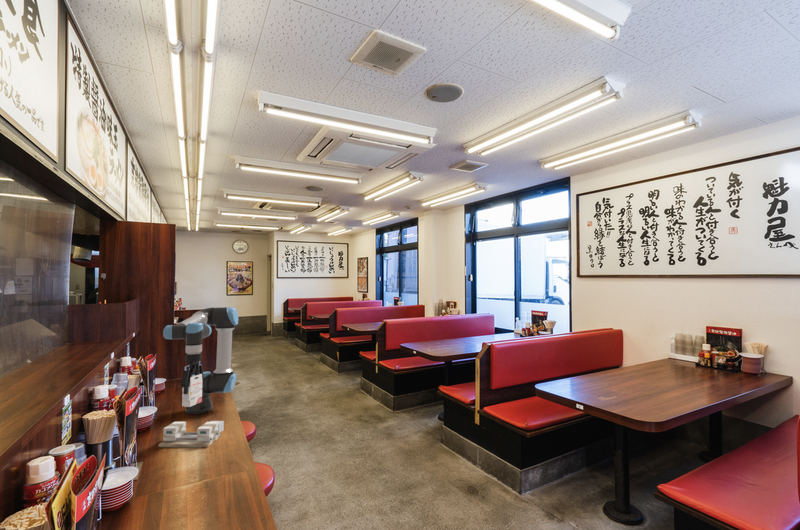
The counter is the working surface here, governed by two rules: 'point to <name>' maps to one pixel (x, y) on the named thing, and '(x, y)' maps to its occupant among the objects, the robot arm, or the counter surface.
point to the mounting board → (189, 435)
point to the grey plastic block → (220, 425)
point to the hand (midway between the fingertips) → (192, 397)
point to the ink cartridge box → (193, 391)
